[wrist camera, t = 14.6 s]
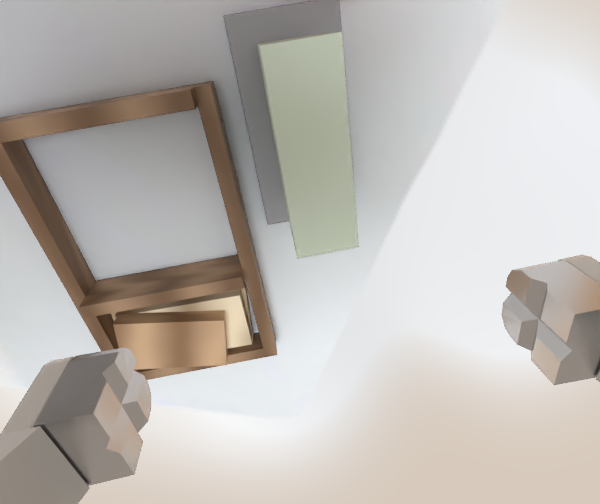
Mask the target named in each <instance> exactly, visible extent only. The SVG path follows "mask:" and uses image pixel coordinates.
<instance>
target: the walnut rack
mask: <svg viewBox="0 0 600 504" xmlns="http://www.w3.org/2000/svg"><path fill="white" fill-rule="evenodd" d="M197 106H198V108H199V111H200V115H201V119H202V122H203V126H204V130H205V134H206V137H207V141H208V145H209V148H210V152H211V156H212V160H213V163H214V167H215V171H216V174H217V178H218V182H219V186H220V189H221V193H222V197H223V200H224V204H225V208H226V212H227V215H228V219H229V223H230V226H231V230H232V234H233V237H234V241H235V245H236V249H237V252H238V255H234V256H229V257H223V258H218V259H212V260H207V261H202V262H196V263H191V264H185V265H180V266H175V267H169V268H164V269H158V270H153V271H148V272H142V273H137V274H131V275H126V276H121V277H115V278H110V279H104V280H99V281H95V279H94V277H93V275H92V273H91V271H90V269H89V268H88V266H87V264H86V262H85V260H84V258H83V256H82V254H81V252H80V250H79V248H78V246H77V244H76V242H75V240H74V239H73V237H72V235H71V233H70V231H69V229H68V227H67V225H66V223H65V221H64V219H63V217H62V215H61V213H60V212H59V210H58V208H57V206H56V204H55V202H54V200H53V198H52V196H51V194H50V192H49V190H48V188H47V186H46V184H45V183H44V181H43V179H42V177H41V175H40V173H39V171H38V169H37V167H36V165H35V163H34V161H33V159H32V157H31V156H30V154H29V152H28V150H27V148H26V146H25V144H24V142H23V140H22V139H27V138H32V137H38V136H44V135H50V134H55V133H61V132H67V131H72V130H78V129H84V128H90V127H95V126H101V125H107V124H113V123H118V122H124V121H130V120H135V119H141V118H147V117H153V116H158V115H164V114H170V113H176V112H181V111H187V110H193V109H196V107H197ZM0 175H1V177H2V179H3V181H4V182H5V184H6V186H7V188H8V189H9V191H10V193H11V195H12V196H13V198H14V200H15V201H16V203H17V205H18V207H19V208H20V210H21V212H22V214H23V215H24V217H25V219H26V221H27V222H28V224H29V226H30V228H31V229H32V231H33V233H34V235H35V236H36V238H37V240H38V242H39V243H40V245H41V247H42V248H43V250H44V252H45V254H46V255H47V257H48V259H49V261H50V262H51V264H52V266H53V268H54V269H55V271H56V273H57V275H58V276H59V278H60V280H61V282H62V283H63V285H64V287H65V288H66V290H67V292H68V294H69V295H70V297H71V299H72V301H73V302H74V304H75V306H76V308H77V309H78V311H79V313H80V315H81V316H82V318H83V320H84V322H85V323H86V325H87V327H88V328H89V330H90V332H91V334H92V335H93V337H94V339H95V341H96V342H97V344H98V346H99V348H100V349H101V351H107V350H113V349H119V346H118V342H117V338H116V335H115V331H114V327H113V323H114V320H113V318H112V315H111V313H115V312H120V311H126V310H131V309H136V308H142V307H147V306H152V305H158V304H163V303H168V302H174V301H179V300H184V299H190V298H195V297H200V296H206V295H211V294H216V293H222V292H227V291H232V290H238V289H243V288H244V284H245V282H246V286H247V289H248V293H249V297H250V301H251V304H252V308H253V312H254V315H255V319H256V323H257V327H258V330H259V333H256V334H253V341H252V344H251V345H245V346H240V347H234V348H228V349H227V352H228V356H227V364H232V363H237V362H242V361H247V360H252V359H257V358H263V357H268V356H273V355H277V349H276V338H275V334H274V329H273V325H272V321H271V317H270V313H269V309H268V305H267V300H266V296H265V292H264V288H263V284H262V280H261V276H260V272H259V267H258V263H257V259H256V255H255V251H254V247H253V243H252V239H251V234H250V230H249V226H248V222H247V218H246V214H245V210H244V205H243V201H242V197H241V193H240V189H239V185H238V181H237V177H236V172H235V168H234V164H233V160H232V156H231V152H230V148H229V144H228V139H227V135H226V131H225V127H224V123H223V119H222V115H221V110H220V106H219V102H218V98H217V94H216V90H215V86H214V82H213V81H211V82H205V83H200V84H194V85H188V86H182V87H176V88H171V89H165V90H159V91H153V92H147V93H142V94H136V95H130V96H124V97H119V98H113V99H107V100H101V101H95V102H90V103H84V104H78V105H72V106H66V107H61V108H55V109H49V110H43V111H38V112H32V113H26V114H20V115H14V116H9V117H3V118H0ZM217 366H221V365H217ZM211 367H216V366H197V367H177V368H157V369H138V370H135V371H137V372H138V373H140V374H142V375H144V376H145V378H146V380H148V379H154V378H159V377H164V376H169V375H174V374H180V373H185V372H190V371H195V370H200V369H206V368H211Z"/></svg>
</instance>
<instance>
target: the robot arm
mask: <svg viewBox="0 0 600 504" xmlns="http://www.w3.org/2000/svg"><path fill="white" fill-rule="evenodd" d="M506 287H507V288H508V289H509V291H510V292H511V294H510V296H508V298H507V299H506V300H505V301H504V302H503V310H502V318H503V322H504V326H505V328H506V330H507V332H508V333H509V335H510V337H511V338H512V339H513V340H514V341H515V342H516V343H517V344H518V345H520V346H522V347H524V348H526V349H529V350H531V360H532V361H533V362H534V364H535V365H536V366H537V367H538V368H539V369H540V370H541V371H542V372H543V373H544V375H545V376H546V377H547V378H548V379H549V380H550V381H551V382H552V383H553V384H554V385H557V384H562V383H568V382H573V381H578V380H584V379H589V378H595V377H597V378H596V380H598V381H600V262H598V261H597V260H595V259H593V258H592V257H589V256H584V255H579V256H574V257H570V258H565V259H561V260H558V261H555V262H550V263H545V264H540V265H535V266H530V267H526V268H520V269H516V270H512V271H511V272H510V274H509V275H508V278H507V283H506ZM135 364H136V359H135V357H134V356H133V354H132V352H131V350H130V349H127V348H119V349H113V350H107V351H102V352H96V353H90V354H85V355H79V356H75V357H70V358H64V359H59V360H53V361H50V362H49V363H47V364H45V365H44V366H43V367H42V369H41V370H40V372H39V374H38V375H37V377H36V378H35V380H34V382H33V383H32V385H31V386H30V388H29V390H28V391H27V393H26V394H25V396H24V398H23V399H22V401H21V402H20V404H19V405H18V407H17V409H16V410H15V412H14V413H13V415H12V417H11V418H10V420H9V422H8V423H7V425H6V426H5V428H4V430H3V431H2V433H1V434H0V504H78V503H79V501H80V500H81V499H82V498H83V496H84V495H85V494H86V492H87V491H88V489H89V485H93V484H97V483H101V482H105V481H110V480H113V479H118V478H122V477H126V476H130V475H134V474H135V470H136V466H137V462H138V458H139V455H140V451H141V447H142V443H143V441H142V439H141V437H140V436H139V434H138V432H139V431H140V430H141V429H142V427H143V426H144V425H145V424H146V423H147V422H148V419H149V415H150V411H151V392H150V389H149V385H148V382H147V380H146V378H145V376H144V375H142V374H140V373H138V372H137V371H135V370H134V367H135Z"/></svg>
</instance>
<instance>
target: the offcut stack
mask: <svg viewBox="0 0 600 504" xmlns="http://www.w3.org/2000/svg"><path fill="white" fill-rule="evenodd" d="M111 315H112V318H113V320H114V323H113V327H114V331H115V335H116V338H117V342H118V346H119V348H127V349H130V350H131V352H132V354H133V356H134V357H135V359H136V364H135V367H134V370H138V369H157V368H177V367H197V366H217V365H227V356H228V352H227V349H228V348H234V347H240V346H245V345H251V344H252V341H253V329H252V323H251V316H250V310H249V303H248V297H247V291H246V284H244V288H243V289H238V290H232V291H227V292H222V293H216V294H211V295H206V296H200V297H195V298H190V299H184V300H179V301H174V302H168V303H163V304H158V305H152V306H147V307H142V308H136V309H131V310H126V311H120V312H115V313H111Z"/></svg>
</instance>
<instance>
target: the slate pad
mask: <svg viewBox="0 0 600 504" xmlns="http://www.w3.org/2000/svg"><path fill="white" fill-rule="evenodd" d="M224 20H225V25H226V30H227V34H228V39H229V44H230V49H231V53H232V58H233V63H234V67H235V72H236V77H237V82H238V86H239V91H240V96H241V100H242V105H243V110H244V115H245V119H246V124H247V129H248V133H249V138H250V143H251V148H252V152H253V157H254V162H255V166H256V171H257V176H258V181H259V185H260V190H261V195H262V199H263V204H264V209H265V213H266V218H267V223H268V225H269V224H275V223H280V222H286V221H289V217H288V212H287V207H286V203H285V197H284V192H283V186H282V181H281V175H280V170H279V164H278V158H277V153H276V147H275V142H274V136H273V131H272V125H271V119H270V114H269V108H268V103H267V97H266V92H265V86H264V81H263V75H262V69H261V64H260V58H259V53H258V47H257V44H261V43H267V42H273V41H279V40H285V39H290V38H296V37H302V36H308V35H315V34H325V33H336V32H342V31H341V18H340V5H339V0H313V1H307V2H301V3H295V4H289V5H283V6H277V7H271V8H266V9H260V10H254V11H248V12H242V13H236V14H230V15H224Z"/></svg>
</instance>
